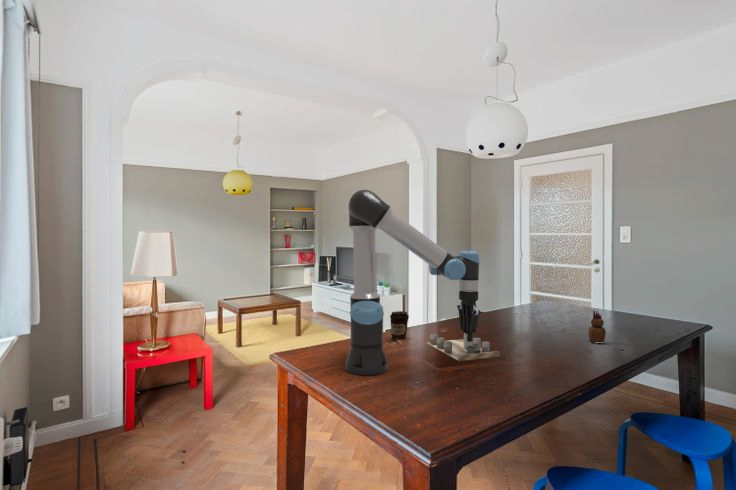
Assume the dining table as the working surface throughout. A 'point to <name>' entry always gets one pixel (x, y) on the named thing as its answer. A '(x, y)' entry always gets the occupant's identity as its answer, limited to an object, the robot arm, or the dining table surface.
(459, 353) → the board
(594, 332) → the wooden figurine
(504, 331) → the dining table surface
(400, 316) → the coffee cup
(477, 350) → the nut
